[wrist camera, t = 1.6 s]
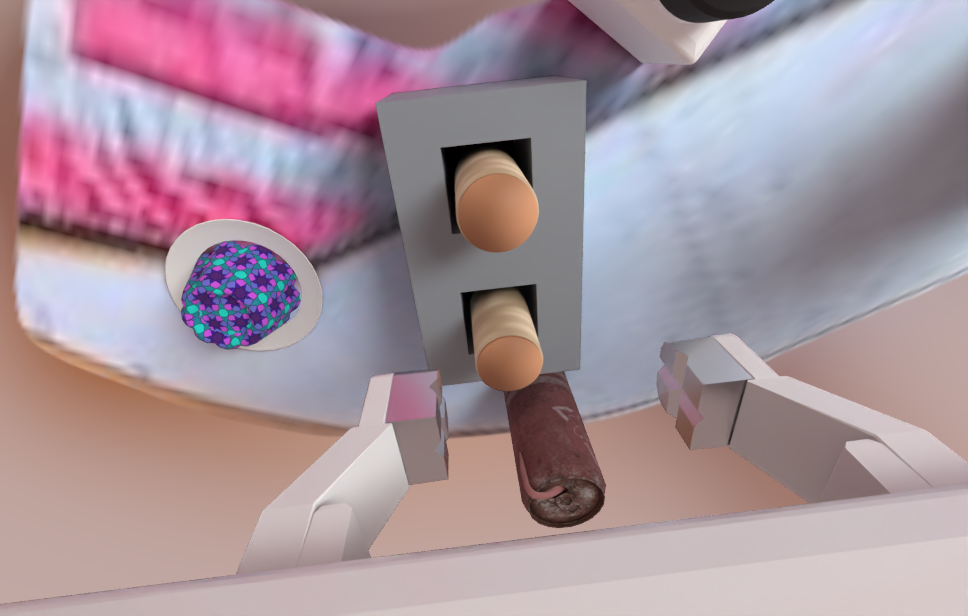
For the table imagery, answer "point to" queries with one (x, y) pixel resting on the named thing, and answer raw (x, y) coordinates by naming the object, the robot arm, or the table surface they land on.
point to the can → (553, 453)
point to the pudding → (242, 286)
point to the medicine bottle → (665, 25)
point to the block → (433, 225)
